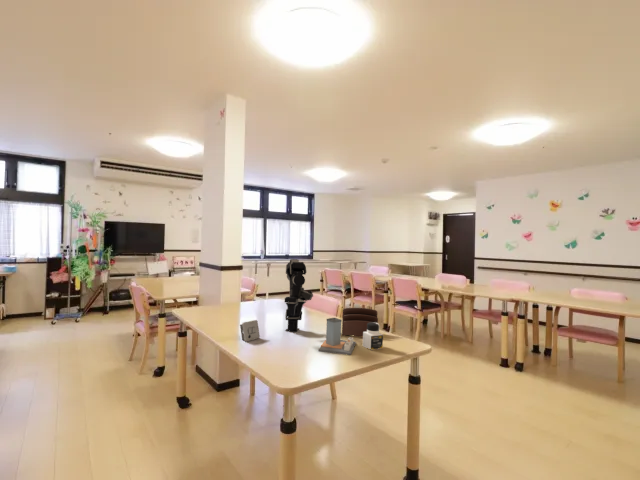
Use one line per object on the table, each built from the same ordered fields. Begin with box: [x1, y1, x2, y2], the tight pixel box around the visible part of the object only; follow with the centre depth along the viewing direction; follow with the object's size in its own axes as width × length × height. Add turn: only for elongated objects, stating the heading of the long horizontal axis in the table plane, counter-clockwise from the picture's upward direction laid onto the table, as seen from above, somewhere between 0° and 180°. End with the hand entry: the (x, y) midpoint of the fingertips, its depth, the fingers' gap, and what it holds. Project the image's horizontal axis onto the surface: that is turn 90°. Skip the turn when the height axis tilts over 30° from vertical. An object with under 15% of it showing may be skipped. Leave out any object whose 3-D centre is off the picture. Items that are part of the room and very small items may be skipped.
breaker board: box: [318, 336, 357, 356], centre depth 160 cm, size 18×15×4 cm
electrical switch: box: [239, 319, 261, 342], centre depth 168 cm, size 9×5×9 cm, turn 141°
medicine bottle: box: [362, 322, 384, 351], centre depth 162 cm, size 7×7×12 cm
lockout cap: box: [325, 317, 342, 346], centre depth 161 cm, size 5×5×12 cm
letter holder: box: [341, 307, 379, 337], centre depth 185 cm, size 10×20×14 cm, turn 85°
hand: (296, 315), depth 173 cm, fingers open, 9 cm apart
